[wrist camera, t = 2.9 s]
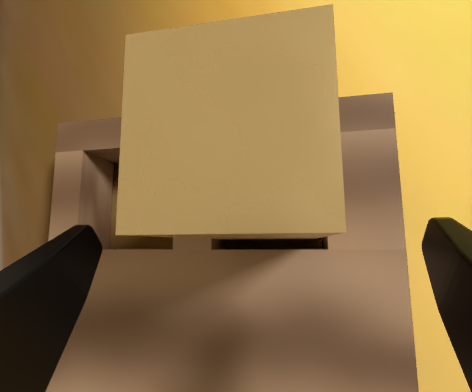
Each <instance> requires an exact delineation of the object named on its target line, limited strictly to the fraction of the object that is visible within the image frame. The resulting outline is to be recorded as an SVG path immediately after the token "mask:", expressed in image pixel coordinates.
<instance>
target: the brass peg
mask: <svg viewBox="0 0 472 392" xmlns="http://www.w3.org/2000/svg"><path fill="white" fill-rule="evenodd" d="M342 233H346V218H345V201H344V184H343V167H342V150H341V133H340V116H339V99H338V82H337V65H336V48H335V31H334V14H333V4H331V5H325V6H318V7H311V8H304V9H298V10H291V11H284V12H277V13H270V14H264V15H257V16H250V17H243V18H237V19H230V20H223V21H216V22H210V23H203V24H196V25H189V26H183V27H176V28H169V29H162V30H156V31H149V32H142V33H135V34H129V35H126V44H125V63H124V82H123V101H122V120H121V139H120V158H119V177H118V196H117V215H116V234H115V235H124V236H150V237H175V238H201V239H226V240H275V239H317V238H322V237H327V236H332V235H337V234H342Z"/></svg>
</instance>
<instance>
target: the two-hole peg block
mask: <svg viewBox="0 0 472 392" xmlns="http://www.w3.org/2000/svg"><path fill="white" fill-rule="evenodd" d="M338 99H339V116H340V133H341V150H342V167H343V184H344V201H345V218H346V233H342V234H337V235H332V236H327V237H323V248H244V249H225V239H201V238H175V237H173V249H109V243H110V225H111V207H112V189H113V171H114V164H117V163H119V158H120V139H121V120H122V117H121V118H110V119H99V120H88V121H77V122H66V123H58V133H57V145H56V156H55V168H54V180H53V192H52V203H51V215H50V227H49V239H48V241H50V240H52V239H53V238H55V237H56V236H58V235H60V234H61V233H63V232H65V231H66V230H68V229H70V228H71V227H73V226H75V225H86V224H87V225H90V226H92V227H93V229H94V231H95V233H96V234H97V236H98V238H99V240H100V241H101V243H102V247H103V250H102V254H101V257H100V260H99V263H98V266H97V269H96V272H95V275H94V278H93V281H92V285H91V288H90V291H89V293H88V296H87V299H86V301H85V304H84V306H83V308H82V311H81V313H80V315H79V317H78V320H77V322H76V324H75V326H74V329H73V331H72V333H71V335H70V338H69V340H68V342H67V344H66V347H65V349H64V351H63V353H62V356H61V358H60V360H59V362H58V365H57V367H56V369H55V371H54V374H53V376H52V378H51V380H50V383H49V385H48V387H47V389H46V392H419V391H418V380H417V368H416V357H415V345H414V334H413V322H412V311H411V299H410V288H409V276H408V265H407V253H406V242H405V231H404V219H403V208H402V196H401V185H400V173H399V162H398V150H397V139H396V127H395V116H394V104H393V93H383V94H372V95H361V96H350V97H339V98H338Z"/></svg>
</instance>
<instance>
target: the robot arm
mask: <svg viewBox="0 0 472 392" xmlns="http://www.w3.org/2000/svg"><path fill="white" fill-rule="evenodd" d="M102 250H103V247H102V243H101V241H100V240H99V238H98V236H97V234H96V233H95V231H94V229H93V227H92V226H90V225H87V224H86V225H75V226H73V227H71V228H70V229H68V230H66V231H65V232H63V233H61V234H60V235H58V236H56V237H55V238H53V239H52V240H50V241H48V242H47V243H45V244H43V245H42V246H40V247H39V248H37V249H35V250H34V251H32V252H30V253H29V254H27V255H26V256H24V257H22V258H21V259H19V260H17V261H16V262H14V263H13V264H11V265H9V266H8V267H6V268H4V269H3V270H1V271H0V392H46V389H47V387H48V385H49V383H50V380H51V378H52V376H53V374H54V371H55V369H56V367H57V365H58V362H59V360H60V358H61V356H62V353H63V351H64V349H65V347H66V344H67V342H68V340H69V338H70V335H71V333H72V331H73V329H74V326H75V324H76V322H77V320H78V317H79V315H80V313H81V311H82V308H83V306H84V304H85V301H86V299H87V296H88V293H89V291H90V288H91V285H92V281H93V278H94V275H95V272H96V269H97V266H98V263H99V260H100V257H101V254H102ZM422 252H423V256H424V260H425V263H426V267H427V271H428V274H429V278H430V282H431V285H432V289H433V293H434V296H435V300H436V304H437V307H438V310H439V313H440V316H441V318H442V321H443V323H444V326H445V328H446V331H447V333H448V336H449V338H450V341H451V343H452V346H453V348H454V351H455V353H456V355H457V358H458V360H459V363H460V365H461V368H462V370H463V373H464V375H465V378H466V380H467V383H468V385H469V388H470V390H471V392H472V231H471V230H470V229H468V228H467V227H465V226H463V225H462V224H460V223H459V222H457V221H456V220H454V219H452V218H449V217H437V218H431V219H430V220H429V222H428V224H427V228H426V231H425V234H424V238H423V241H422Z"/></svg>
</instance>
